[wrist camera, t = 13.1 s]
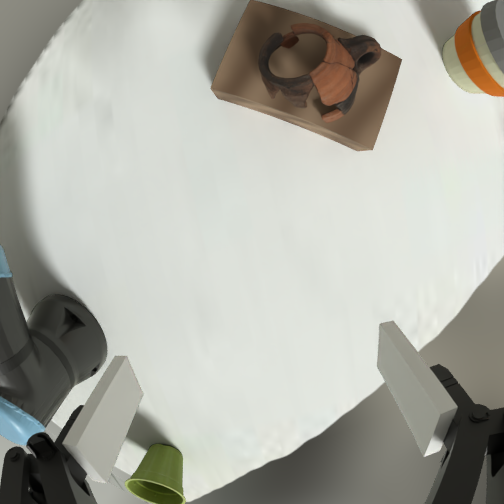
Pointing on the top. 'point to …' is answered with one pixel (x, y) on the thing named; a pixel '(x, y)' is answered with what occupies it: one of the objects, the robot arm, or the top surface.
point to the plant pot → (159, 476)
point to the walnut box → (298, 64)
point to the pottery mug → (321, 69)
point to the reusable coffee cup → (478, 52)
